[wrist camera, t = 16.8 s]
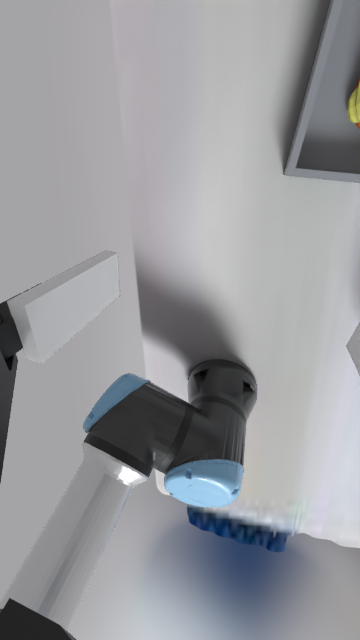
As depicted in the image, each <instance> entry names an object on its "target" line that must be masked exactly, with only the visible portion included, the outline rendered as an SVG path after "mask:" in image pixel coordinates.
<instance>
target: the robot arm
mask: <svg viewBox="0 0 360 640" xmlns="http://www.w3.org/2000/svg"><path fill="white" fill-rule="evenodd" d="M119 296H120V288H119V268H118V253H116V252H110V251H104V252H102V253H100V254H98V255H96V256H94V257H92V258H90V259H88V260H86V261H84V262H82V263H81V264H78V265H76V266H75V267H73V268H71V269H69V270H67V271H65V272H63V273H61V274H59V275H57V276H55V277H53V278H51V279H49V280H47V281H45V282H43V283H40V284H38V285H36V286H34V287H32V288H31V289H28V290H26V291H24V292H23V293H21V294H18V295H16V296H14V297H12V298H10V299H8V300H7V301H5V302H3V303H1V304H0V482H1V475H2V468H3V461H4V454H5V447H6V439H7V433H8V426H9V419H10V412H11V404H12V398H13V391H14V383H15V377H16V370H17V363H18V359H17V356H16V353H17V352H18V351H19V350H21V349H22V348H23V350H24V353H25V356H26V359H27V360H31V361H34V362H37V363H41V364H43V363H44V362H45V361H46V360H47V359H48V358H49V357H51V356H52V355H53V354H54V353H55V352H56V351H58V350H59V349H60V348H61V347H62V346H63V345H64V344H65V343H67V342H68V341H69V340H70V339H71V338H72V337H74V336H75V335H76V334H77V333H78V332H79V331H80V330H82V329H83V328H84V327H85V326H86V325H87V324H88V323H90V322H91V321H92V320H93V319H94V318H95V317H96V316H97V315H99V314H100V313H101V312H102V311H103V310H104V309H106V308H107V307H108V306H109V305H110V304H111V303H112V302H114V300H116V299H117V298H118V297H119ZM346 347H347V349H348V351H349V353H350V355H351V358H352V360H353V362H354V364H355V366H356V368H357V371H358V373H359V375H360V323H359V324H358V326H357V328H356V330H355V331H354V333H353V335H352V337H351V338H350V340H349V342H348V343H347V345H346ZM188 399H189V403H187V402H186V401H184V400H182V399H180V398H178V397H176V396H175V395H173V394H171V393H169V392H167V391H165V390H163V389H162V388H160V387H158V386H156V385H154V384H153V383H151V381H149V380H145V379H143V378H141V377H138V376H136V375H134V374H131V373H128V374H124V375H123V376H121V377H119V378H118V379H117V380H116V381H115V382H114V383H113V384H112V385H111V386H110V387H109V388H108V389H107V390H106V392H105V393H104V394H103V395H102V396H101V398H100V399H99V400H98V402H97V403H96V404H95V406H94V407H93V408H92V411H91V412H90V414H89V415H88V416H87V418H86V419H85V421H84V424H83V429H84V430H85V432H86V433H88V432H89V433H88V435H87V437H86V438H85V440H84V442H83V443H82V446H83V453H84V461H83V462H82V464H81V466H80V467H79V469H78V471H77V473H76V474H75V476H74V478H73V479H72V481H71V483H70V484H69V486H68V488H67V490H66V491H65V493H64V495H63V496H62V498H61V500H60V501H59V503H58V505H57V506H56V508H55V510H54V512H53V513H52V515H51V517H50V518H49V520H48V522H47V523H46V525H45V527H44V528H43V530H42V532H41V533H40V535H39V537H38V539H37V540H36V542H35V544H34V545H33V547H32V549H31V550H30V552H29V554H28V555H27V557H26V559H25V561H24V562H23V564H22V566H21V567H20V569H19V571H18V572H17V574H16V576H15V577H14V579H13V581H12V583H11V584H10V586H9V588H8V589H7V591H6V593H5V594H4V596H3V598H2V599H1V601H0V640H76V639H75V638H74V637H73V636H72V635H71V634H70V633H68V632H67V631H68V629H69V626H70V624H71V622H72V620H73V618H74V615H75V613H76V611H77V609H78V607H79V605H80V602H81V600H82V598H83V596H84V594H85V591H86V589H87V587H88V585H89V583H90V580H91V578H92V576H93V574H94V572H95V570H96V567H97V565H98V563H99V561H100V559H101V556H102V554H103V552H104V550H105V548H106V546H107V543H108V541H109V539H110V537H111V535H112V533H113V530H114V528H115V526H116V524H117V522H118V519H119V517H120V515H121V513H122V511H123V509H124V506H125V504H126V502H127V500H128V498H129V495H130V493H131V491H132V489H133V487H134V486H136V485H138V484H140V483H142V482H144V481H146V480H148V478H149V475H150V473H151V470H152V469H153V468H155V469H157V470H159V471H160V472H162V473H164V474H165V477H164V485H165V489H166V490H167V491H168V492H170V494H171V495H172V496H173V497H175V498H177V499H178V500H180V501H183V502H185V503H188V504H191V505H195V506H201V507H222V506H226V505H228V504H230V503H232V502H233V501H235V500H236V498H237V497H238V495H239V493H240V489H241V483H242V476H243V473H244V468H243V464H244V449H245V433H246V421H247V419H248V417H249V415H250V413H251V411H252V409H253V407H254V405H255V403H256V399H257V385H256V382H255V380H254V378H253V377H252V375H251V374H250V373H249V372H248V371H247V370H246V369H244V368H243V367H241V366H239V365H237V364H235V363H232V362H229V361H225V360H209V361H205V362H203V363H201V364H199V365H197V366H196V367H195V368H194V369H193V371H192V372H191V375H190V378H189V381H188Z"/></svg>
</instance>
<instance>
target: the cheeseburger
mask: <svg viewBox="0 0 360 640" xmlns="http://www.w3.org/2000/svg"><path fill="white" fill-rule="evenodd" d="M347 114H348V118H349V120H350V121H351V122H353V123H356V126H357V127H358V128H359V129H360V78H359V80H358V82H357V85H356V87H355V90H354V92H353V93H352V95H351V96H350V98H349V100H348V106H347Z"/></svg>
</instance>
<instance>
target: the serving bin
mask: <svg viewBox="0 0 360 640" xmlns="http://www.w3.org/2000/svg"><path fill="white" fill-rule="evenodd" d="M359 78H360V0H330V3H329V7H328V11H327V14H326V18H325V22H324V26H323V29H322V33H321V37H320V41H319V44H318V48H317V52H316V55H315V59H314V63H313V67H312V70H311V74H310V78H309V82H308V85H307V89H306V93H305V96H304V100H303V104H302V108H301V111H300V115H299V119H298V123H297V126H296V130H295V134H294V137H293V141H292V145H291V149H290V152H289V156H288V160H287V164H286V167H285V171H284V175H286V176H296V177H306V178H316V179H326V180H335V181H345V182H355V183H360V129H359V128H358V127H357V126H356V123H353V122H351V121H350V120H349V118H348V114H347V106H348V100H349V98H350V96H351V95H352V93H353V92H354V90H355V87H356V85H357V82H358V80H359Z"/></svg>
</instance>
